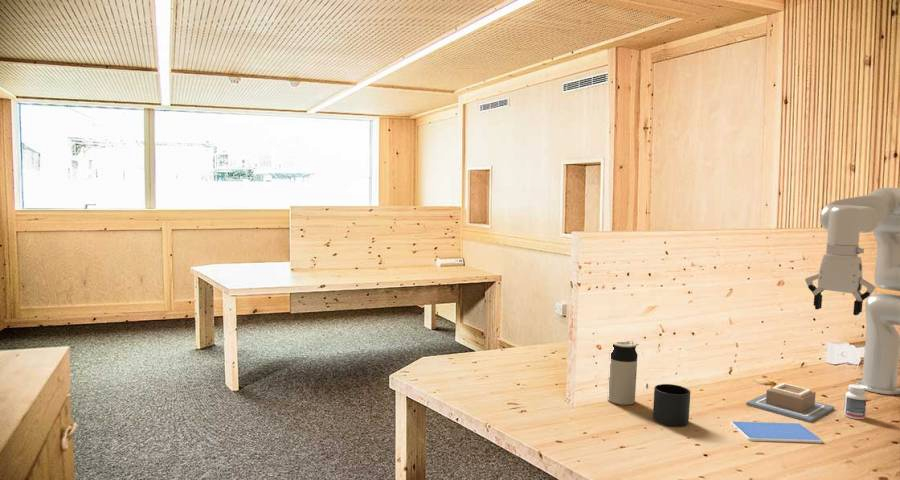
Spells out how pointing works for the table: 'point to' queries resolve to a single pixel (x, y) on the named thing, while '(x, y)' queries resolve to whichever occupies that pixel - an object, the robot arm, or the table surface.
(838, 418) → the table surface
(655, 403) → the mug
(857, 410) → the pill bottle
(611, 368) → the travel mug
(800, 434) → the blue rectangular panel
